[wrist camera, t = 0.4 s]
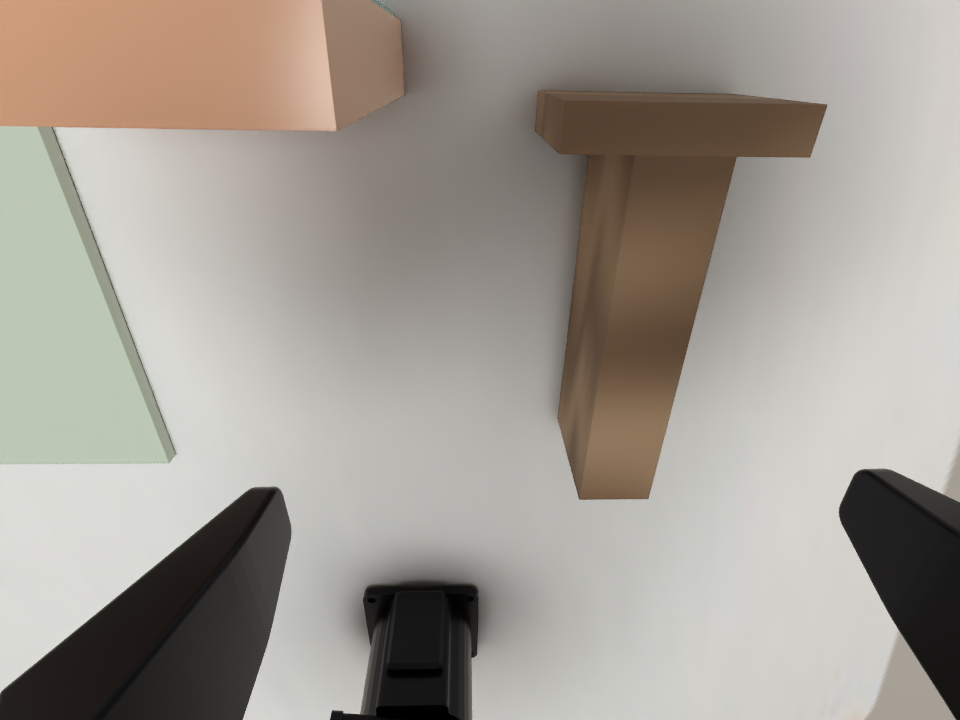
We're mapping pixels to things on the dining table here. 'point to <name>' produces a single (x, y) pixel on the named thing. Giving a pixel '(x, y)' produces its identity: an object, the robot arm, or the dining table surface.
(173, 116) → the tile
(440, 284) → the dining table surface
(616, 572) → the dining table surface
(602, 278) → the brown wooden block
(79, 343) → the rest board
